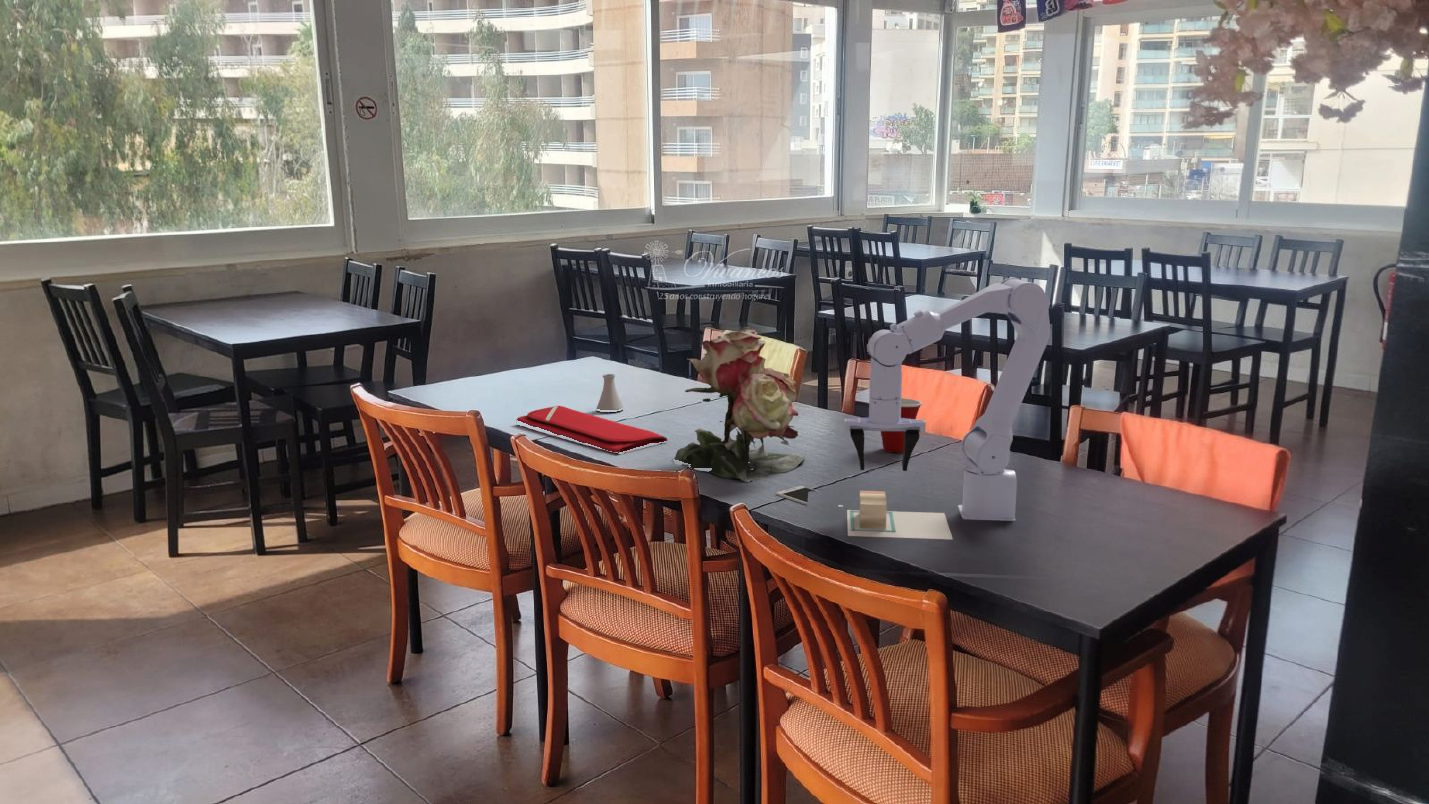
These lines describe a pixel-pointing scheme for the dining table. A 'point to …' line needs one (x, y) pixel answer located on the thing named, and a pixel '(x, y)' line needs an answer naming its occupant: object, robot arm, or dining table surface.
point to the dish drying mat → (590, 429)
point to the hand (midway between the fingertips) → (883, 469)
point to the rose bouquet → (743, 409)
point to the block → (872, 509)
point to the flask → (609, 395)
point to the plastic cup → (895, 439)
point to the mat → (903, 525)
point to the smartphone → (797, 494)
